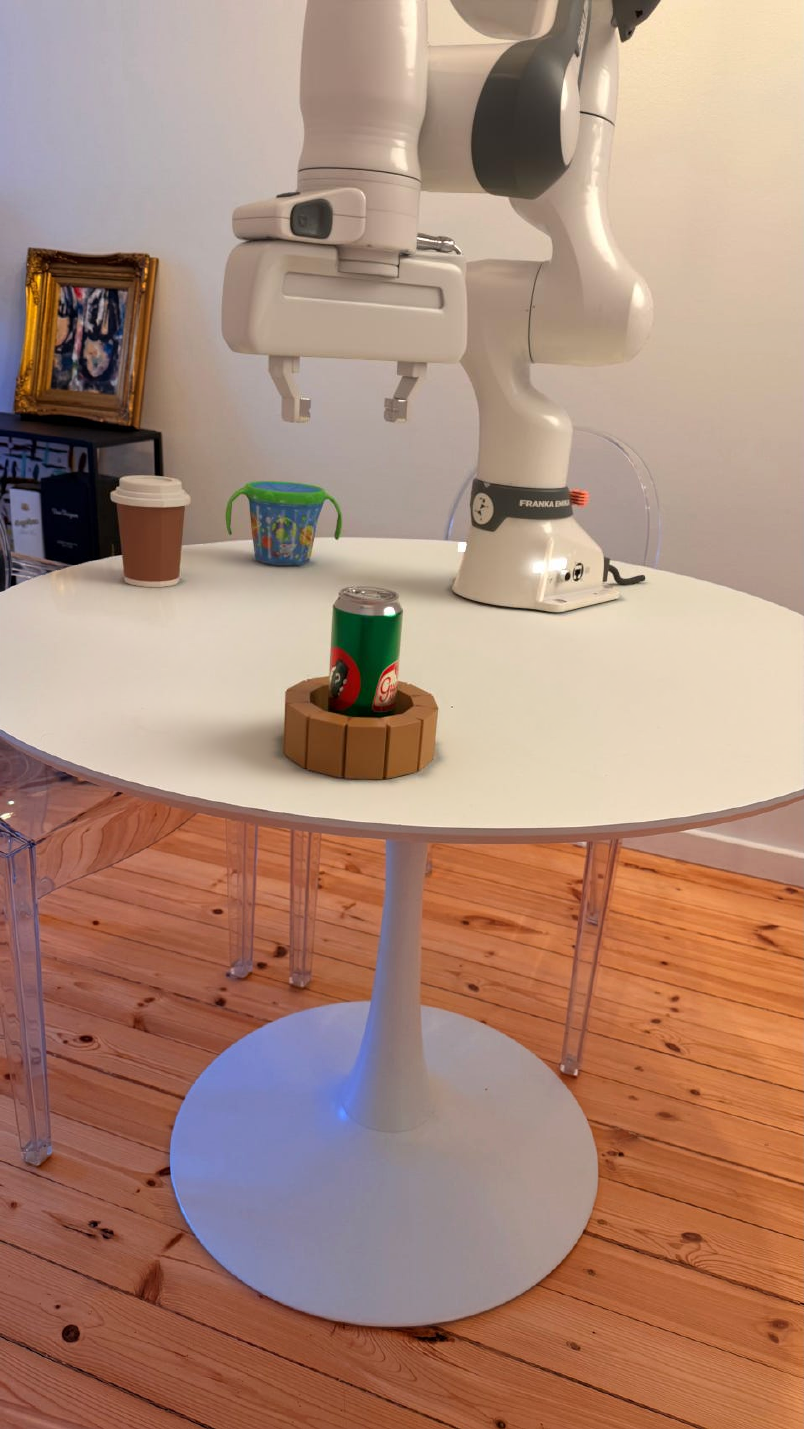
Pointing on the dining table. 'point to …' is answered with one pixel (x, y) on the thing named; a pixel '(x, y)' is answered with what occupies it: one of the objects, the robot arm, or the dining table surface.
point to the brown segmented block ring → (359, 734)
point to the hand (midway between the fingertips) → (348, 422)
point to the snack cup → (283, 519)
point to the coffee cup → (151, 528)
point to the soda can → (365, 652)
